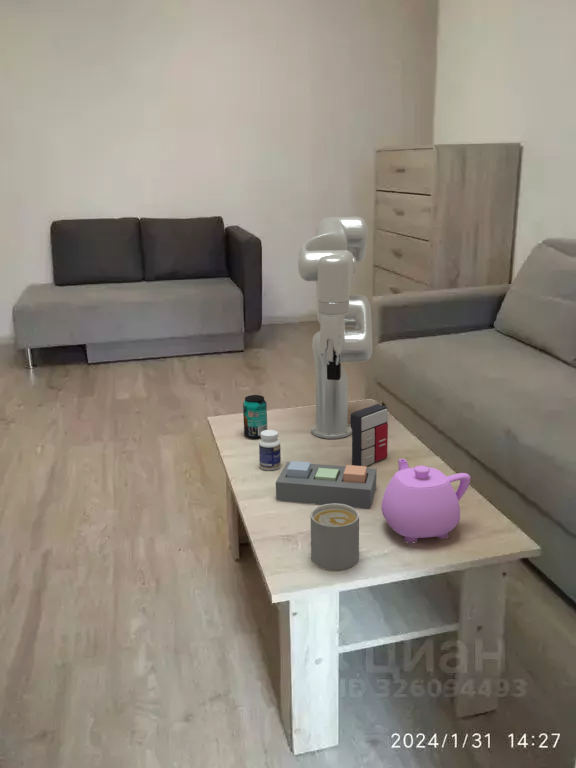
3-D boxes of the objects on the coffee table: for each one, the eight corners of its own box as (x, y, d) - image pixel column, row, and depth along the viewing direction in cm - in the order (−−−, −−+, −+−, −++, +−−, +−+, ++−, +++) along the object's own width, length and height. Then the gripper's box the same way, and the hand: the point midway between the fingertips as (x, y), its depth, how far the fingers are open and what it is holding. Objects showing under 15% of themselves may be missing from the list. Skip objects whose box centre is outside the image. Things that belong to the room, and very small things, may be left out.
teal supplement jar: (249, 430, 218) (248, 393, 214) (271, 432, 216) (269, 395, 212) (240, 438, 212) (238, 400, 208) (262, 441, 209) (260, 402, 206)
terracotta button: (346, 483, 176) (346, 464, 175) (366, 484, 175) (366, 466, 174) (343, 492, 172) (343, 473, 170) (364, 494, 171) (364, 475, 169)
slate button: (291, 478, 180) (291, 460, 178) (311, 480, 178) (310, 462, 177) (287, 487, 175) (286, 469, 173) (307, 489, 174) (306, 470, 172)
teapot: (444, 499, 171) (447, 441, 167) (483, 540, 153) (488, 477, 148) (367, 509, 168) (367, 450, 163) (397, 553, 149) (399, 488, 144)
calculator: (361, 470, 188) (362, 417, 184) (350, 465, 192) (350, 413, 187) (389, 458, 195) (390, 407, 191) (377, 453, 198) (378, 403, 194)
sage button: (319, 485, 178) (318, 467, 177) (338, 487, 177) (338, 469, 176) (315, 494, 174) (314, 476, 172) (335, 496, 173) (335, 477, 171)
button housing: (287, 479, 184) (287, 461, 182) (376, 486, 179) (376, 468, 177) (276, 500, 173) (275, 482, 171) (370, 508, 168) (370, 489, 166)
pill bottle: (278, 471, 189) (277, 437, 186) (257, 470, 190) (256, 435, 187) (282, 463, 194) (281, 429, 191) (262, 461, 195) (261, 428, 192)
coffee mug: (366, 565, 145) (366, 521, 142) (320, 574, 142) (319, 530, 139) (342, 534, 157) (342, 493, 154) (299, 541, 154) (298, 500, 151)
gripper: (324, 300, 180) (324, 369, 185) (312, 313, 166) (313, 387, 172) (353, 301, 178) (353, 370, 184) (343, 314, 164) (343, 389, 170)
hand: (333, 378), depth 178 cm, fingers closed
